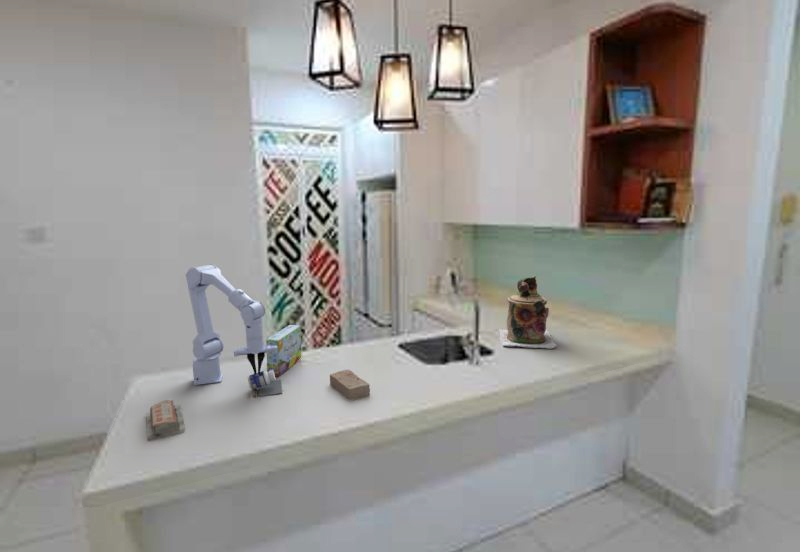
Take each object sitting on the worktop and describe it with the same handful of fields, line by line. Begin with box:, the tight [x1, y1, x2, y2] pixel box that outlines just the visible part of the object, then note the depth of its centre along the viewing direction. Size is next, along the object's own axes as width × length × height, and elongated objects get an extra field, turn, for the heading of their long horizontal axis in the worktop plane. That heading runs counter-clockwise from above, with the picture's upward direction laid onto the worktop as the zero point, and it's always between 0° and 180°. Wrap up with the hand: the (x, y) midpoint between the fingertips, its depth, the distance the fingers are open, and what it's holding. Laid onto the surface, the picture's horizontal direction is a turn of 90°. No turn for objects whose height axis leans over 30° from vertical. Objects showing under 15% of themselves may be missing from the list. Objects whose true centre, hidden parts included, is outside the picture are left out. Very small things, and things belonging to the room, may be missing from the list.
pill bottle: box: [247, 370, 277, 391], centre depth 163 cm, size 5×5×9 cm
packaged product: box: [146, 399, 186, 441], centre depth 140 cm, size 18×5×10 cm
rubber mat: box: [258, 379, 283, 398], centre depth 165 cm, size 8×12×1 cm, turn 17°
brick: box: [329, 369, 371, 401], centre depth 163 cm, size 17×8×5 cm, turn 35°
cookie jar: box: [498, 274, 557, 350], centre depth 215 cm, size 25×25×32 cm
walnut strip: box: [253, 388, 258, 398], centre depth 163 cm, size 1×12×1 cm, turn 17°
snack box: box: [265, 324, 302, 378], centre depth 184 cm, size 21×6×15 cm, turn 168°
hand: (257, 372), depth 162 cm, fingers closed
